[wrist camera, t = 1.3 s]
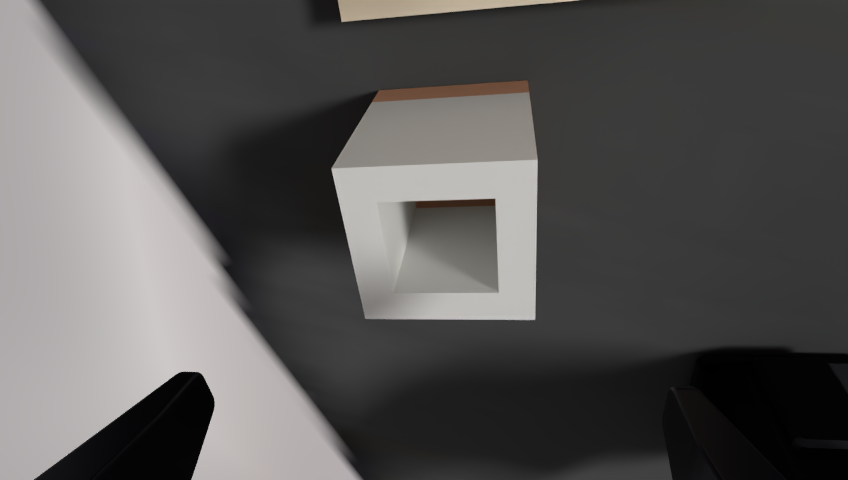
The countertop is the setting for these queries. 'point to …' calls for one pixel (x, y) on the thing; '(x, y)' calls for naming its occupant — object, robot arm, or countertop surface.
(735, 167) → the countertop surface
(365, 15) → the pin board
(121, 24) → the countertop surface
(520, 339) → the countertop surface
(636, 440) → the countertop surface
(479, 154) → the banded sleeve
